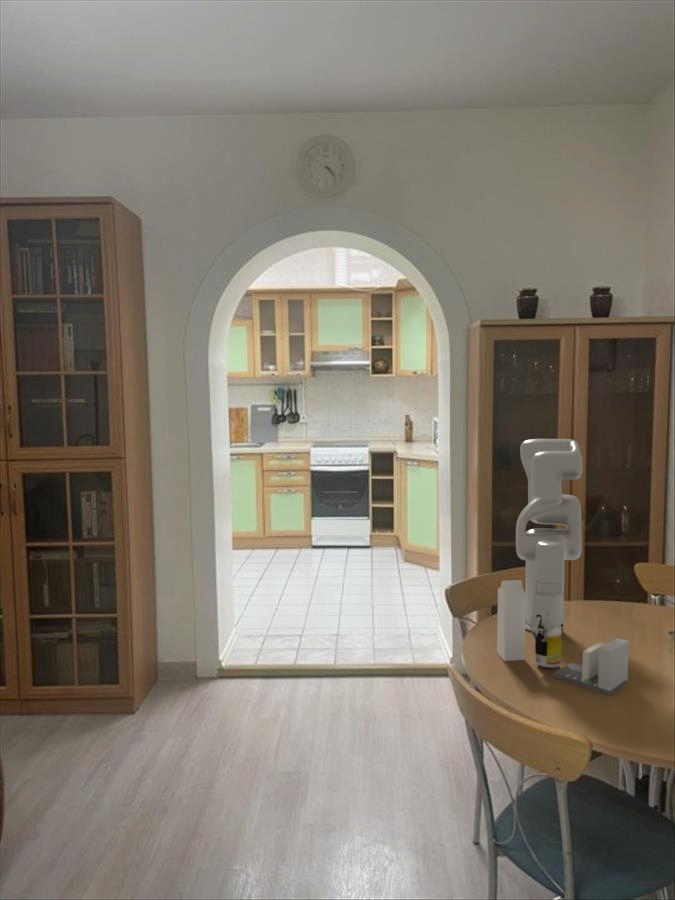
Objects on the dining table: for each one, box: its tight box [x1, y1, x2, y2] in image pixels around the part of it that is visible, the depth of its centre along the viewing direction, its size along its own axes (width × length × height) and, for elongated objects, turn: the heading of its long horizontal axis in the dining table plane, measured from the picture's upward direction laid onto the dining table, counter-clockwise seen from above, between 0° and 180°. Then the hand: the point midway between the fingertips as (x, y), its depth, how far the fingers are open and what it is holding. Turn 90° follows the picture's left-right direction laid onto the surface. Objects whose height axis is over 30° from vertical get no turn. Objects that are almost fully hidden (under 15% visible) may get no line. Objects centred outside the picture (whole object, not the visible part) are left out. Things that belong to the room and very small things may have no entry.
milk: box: [496, 579, 526, 662], centre depth 188 cm, size 6×6×22 cm
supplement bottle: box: [534, 622, 562, 669], centre depth 181 cm, size 7×7×13 cm
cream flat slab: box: [581, 641, 606, 681], centre depth 171 cm, size 2×10×7 cm, turn 133°
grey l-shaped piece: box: [553, 637, 630, 697], centre depth 172 cm, size 15×10×11 cm, turn 43°
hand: (548, 650), depth 181 cm, fingers closed on supplement bottle, 6 cm apart
